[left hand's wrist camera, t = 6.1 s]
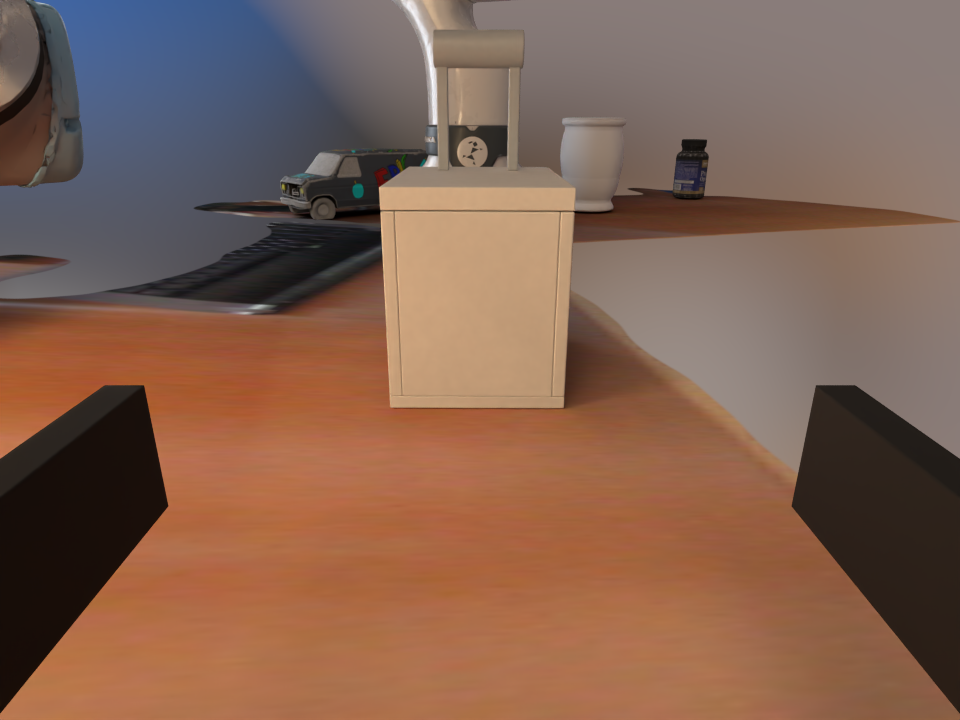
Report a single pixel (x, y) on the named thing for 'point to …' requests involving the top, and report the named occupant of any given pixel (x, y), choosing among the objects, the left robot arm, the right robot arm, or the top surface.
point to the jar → (592, 160)
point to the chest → (477, 307)
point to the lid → (478, 184)
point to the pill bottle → (691, 169)
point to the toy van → (346, 179)
